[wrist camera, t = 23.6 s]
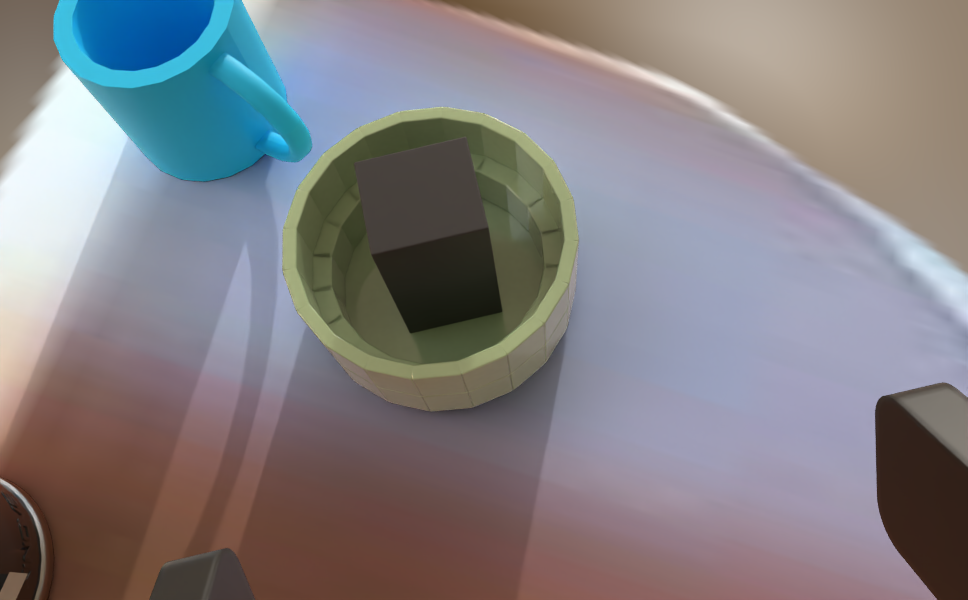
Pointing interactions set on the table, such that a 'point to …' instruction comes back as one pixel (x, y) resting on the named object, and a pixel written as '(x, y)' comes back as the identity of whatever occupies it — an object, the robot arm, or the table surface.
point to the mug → (183, 82)
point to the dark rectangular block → (430, 234)
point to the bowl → (367, 301)
